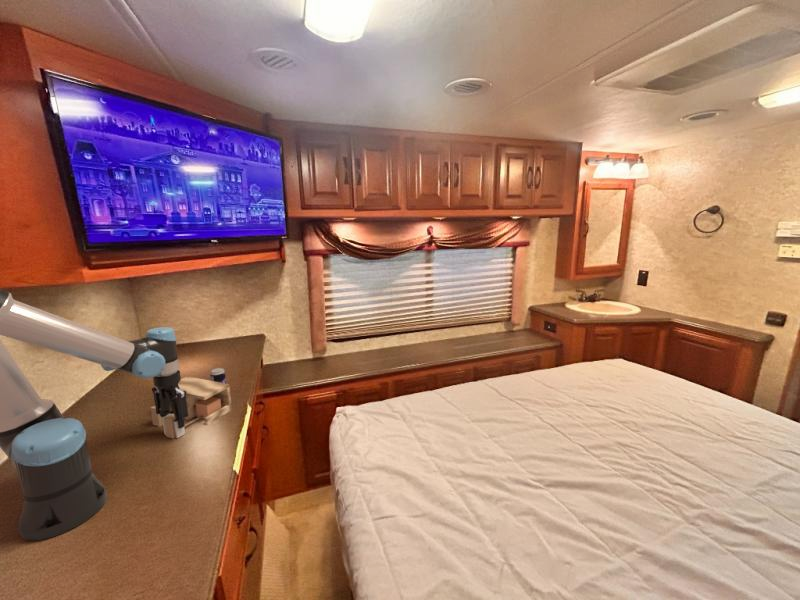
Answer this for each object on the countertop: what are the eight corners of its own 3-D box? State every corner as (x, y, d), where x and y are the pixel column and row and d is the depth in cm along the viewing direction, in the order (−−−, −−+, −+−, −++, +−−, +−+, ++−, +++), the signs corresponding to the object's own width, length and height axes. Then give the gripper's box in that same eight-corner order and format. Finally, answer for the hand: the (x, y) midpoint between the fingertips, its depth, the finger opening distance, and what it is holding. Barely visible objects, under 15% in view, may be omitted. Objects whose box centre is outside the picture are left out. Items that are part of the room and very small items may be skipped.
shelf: (207, 424, 118) (204, 397, 116) (164, 413, 125) (160, 387, 123) (231, 409, 129) (229, 384, 127) (190, 400, 136) (187, 376, 134)
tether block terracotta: (176, 439, 110) (173, 421, 108) (163, 435, 111) (161, 417, 110) (221, 412, 127) (220, 396, 126) (210, 409, 129) (208, 393, 128)
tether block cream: (161, 427, 117) (159, 409, 115) (150, 424, 118) (147, 407, 117) (199, 407, 131) (197, 391, 129) (188, 404, 133) (186, 389, 131)
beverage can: (220, 399, 137) (218, 373, 135) (209, 397, 138) (206, 372, 136) (230, 393, 143) (227, 368, 141) (219, 391, 144) (216, 367, 142)
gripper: (196, 371, 108) (203, 433, 113) (159, 365, 114) (167, 423, 118) (174, 380, 101) (183, 445, 106) (136, 373, 107) (145, 435, 111)
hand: (174, 433), depth 112 cm, fingers open, 5 cm apart
